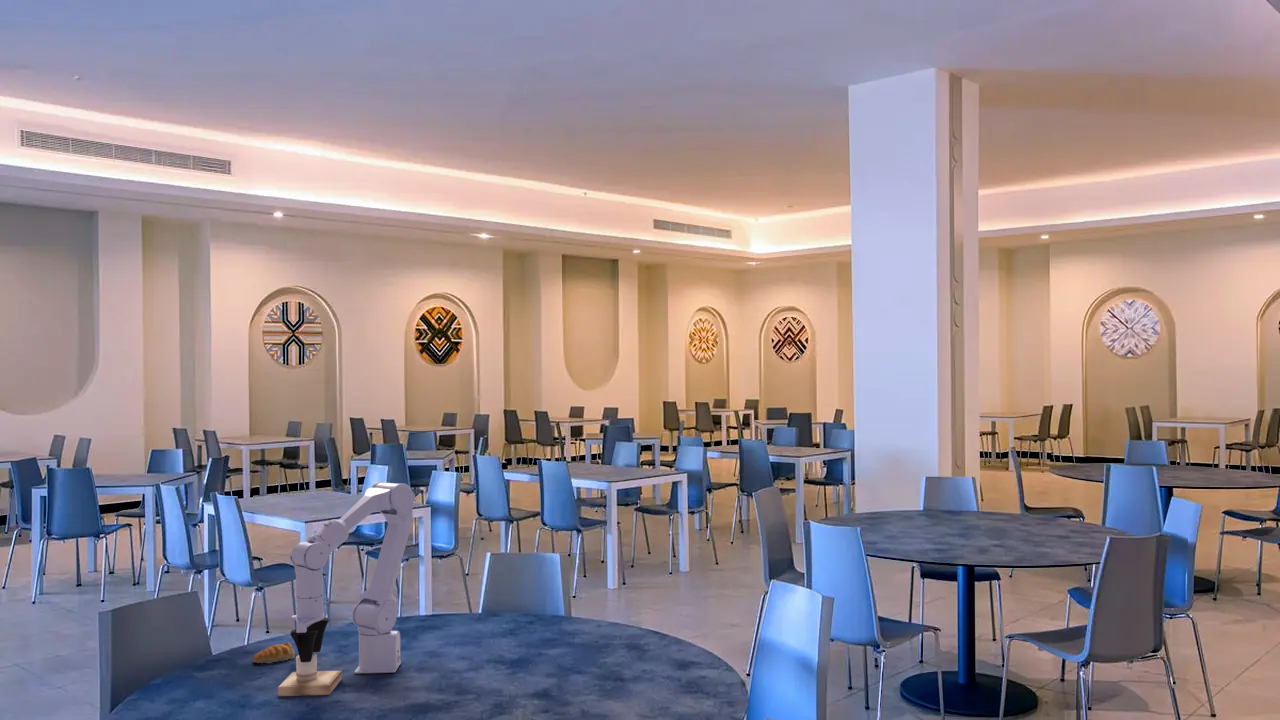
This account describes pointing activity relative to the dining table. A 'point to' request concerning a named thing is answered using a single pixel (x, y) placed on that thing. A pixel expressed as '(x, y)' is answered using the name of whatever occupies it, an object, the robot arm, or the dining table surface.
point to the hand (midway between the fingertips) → (310, 656)
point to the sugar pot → (306, 669)
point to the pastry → (275, 653)
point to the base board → (310, 684)
